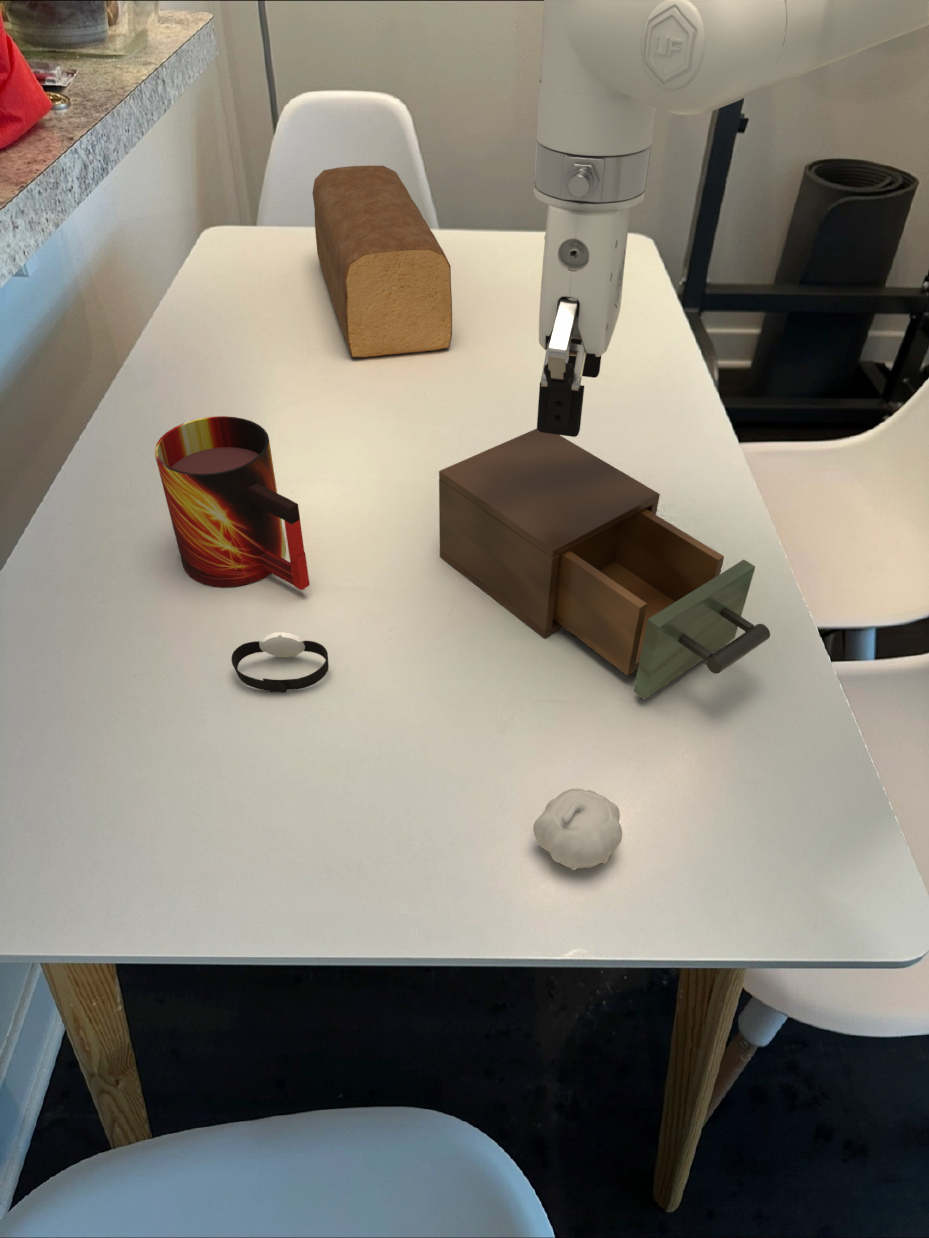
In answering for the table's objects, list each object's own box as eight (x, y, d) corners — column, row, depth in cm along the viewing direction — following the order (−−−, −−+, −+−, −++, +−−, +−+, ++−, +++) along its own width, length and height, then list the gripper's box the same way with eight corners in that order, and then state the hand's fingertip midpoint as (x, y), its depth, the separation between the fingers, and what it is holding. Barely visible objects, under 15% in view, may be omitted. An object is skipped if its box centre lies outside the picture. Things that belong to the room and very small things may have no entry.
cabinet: (644, 580, 84) (660, 493, 78) (544, 639, 78) (553, 550, 72) (536, 508, 93) (543, 425, 86) (439, 556, 87) (438, 470, 80)
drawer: (776, 665, 75) (801, 593, 70) (685, 731, 70) (704, 658, 64) (618, 560, 85) (629, 490, 80) (528, 611, 80) (534, 539, 74)
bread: (347, 362, 116) (338, 249, 106) (316, 263, 140) (306, 163, 131) (455, 352, 118) (455, 240, 109) (405, 255, 143) (402, 157, 133)
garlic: (548, 892, 60) (554, 847, 57) (522, 825, 64) (526, 779, 61) (632, 871, 61) (643, 826, 58) (602, 807, 65) (610, 761, 62)
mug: (307, 601, 82) (292, 489, 74) (164, 579, 84) (133, 467, 76) (341, 537, 89) (330, 428, 81) (207, 518, 91) (184, 410, 83)
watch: (332, 654, 77) (328, 622, 74) (328, 695, 73) (323, 663, 71) (239, 655, 76) (233, 623, 74) (231, 697, 73) (223, 665, 70)
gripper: (630, 219, 54) (599, 466, 66) (660, 141, 67) (630, 360, 78) (507, 207, 55) (498, 451, 67) (559, 133, 68) (544, 349, 79)
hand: (569, 402), depth 72 cm, fingers open, 9 cm apart
